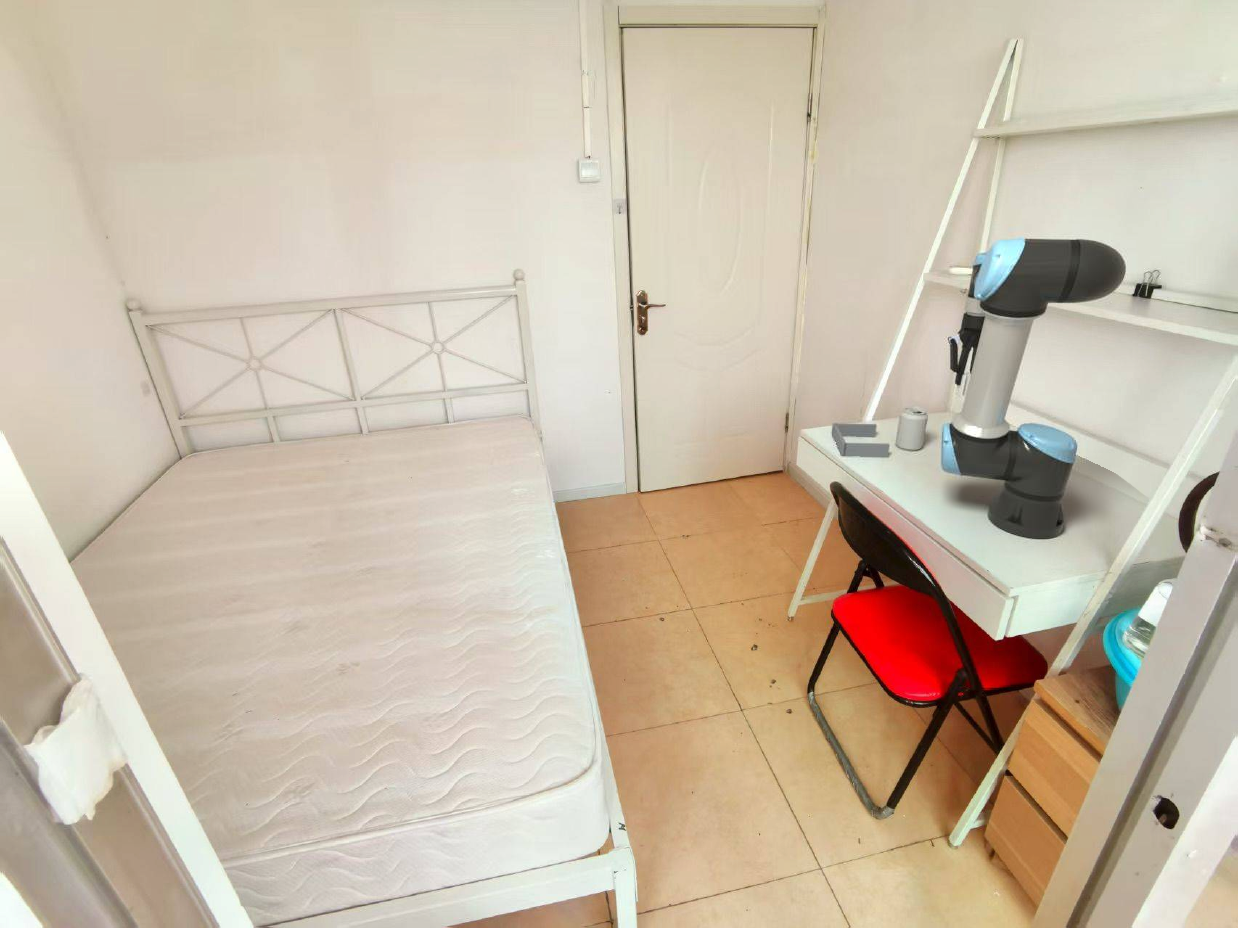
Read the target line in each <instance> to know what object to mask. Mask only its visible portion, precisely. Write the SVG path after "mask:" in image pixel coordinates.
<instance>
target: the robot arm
mask: <svg viewBox="0 0 1238 928" xmlns="http://www.w3.org/2000/svg"><path fill="white" fill-rule="evenodd" d="M1126 270H1127V266H1126V262H1125V260H1124V258H1123V256H1122V255H1121V253H1120V252H1119V251H1118V250H1117V249H1116V248H1114V247H1111V246H1110V245H1108V244H1106V243H1103V242H1101V241H1097V240H1091V239H1084V238H1083V239H1082V238H1076V239H1069V238H1068V239H1057V238H1053V239H1051V238H1024V237H1019V238H1010V239H1008V238H1007V239H999V240H997V241H995V242H994V243H993V244H992V245H991V246H990V247H989V249H988V250H987V252H980V253H977V255H976V256H975V258H974V262H973V265H972V272H971V277H970V282H969V286H968V287H969V288H968V292H967V295H966V300H965V305H964V311H965V312H964V313H963V315H962V319H961V326H960V329H959V331H958V332H957V334H956V335H954V336H948V337H947V341H948V343H949V355H950V358H949V360H950V362H949V364H950V365H949V367H950V368H949V369H950V370H951V371H952V372H953V373H956V375H955V379H954V384H955V385H956V390H955V395H956V396H957V397H958V398H962V397H964V401H963V405H962V409H961V411H960V412H958V413H956V414H955V415H954V416H953V417H952V419H951V423H950V422H948V423H947V422H946V423H944V424H943V425H942V430H941V441H940V442H941V446H940V449H941V451H940V453H941V454H940V462H941V463H940V465H941V470H943V472H945V473H947V474H954V475H958V476H960V477H963V476H964V477H965V476H967V477H972V478H973V477H974V478H981V479H989V480H997V481H1004V483H1003V486H1002V487H1001V489H1000V491H999V492H998V493H997V495H996V496H995V497H994V499H993V501H992V502H990V504H989V507H988V510H987V518H988V520H989V521H990V522H991V523H992V524H993V525H994V526H996V527H997V528H999V529H1001V530H1003V531H1005V532H1006V533H1010V534H1012V535H1016V536H1020V537H1023V538H1029V539H1030V538H1031V539H1040V540H1041V539H1043V540H1044V539H1052V538H1056V537H1057V536H1058V537H1059V535H1060V534H1061V533H1062V531H1063V528H1064V524H1065V515H1064V507H1063V497H1064V493H1065V490H1066V487H1067V484H1068V482H1069V481H1068V480H1069V478H1070V476H1071V471H1072V468H1073V465H1074V463H1076V455H1077V451H1078V443H1077V441H1076V440H1075V438H1074V437H1073V436H1071V435H1070V434H1068V433H1067V432H1065V431H1064V430H1061V429H1058V428H1056V427H1052V426H1049V425H1046V424H1041V423H1034V422H1028V423H1023V424H1020V425H1019V426H1018V428H1017V430H1012V429H1010V423H1009V422H1008V421H1007V420H1006V419H1005V418H1006V414H1007V412H1008V409H1009V406H1010V401H1011V397H1012V396H1013V391H1014V388H1015V385H1016V380H1017V378H1018V374H1019V371H1020V367H1021V364H1022V361H1023V358H1024V355H1025V350H1026V347H1027V344H1028V341H1029V336H1030V335H1031V334H1030V333H1031V330H1032V327H1033V323H1034V321H1035V320H1036V319H1038V318H1040V317H1042V316H1043V315H1045V314H1046V311H1047V307H1048V304H1078V303H1086V302H1092V301H1097V300H1100V299H1103V298H1105V297H1107V296H1109V295H1111V294H1112V293H1114V292H1115V291H1116V290H1117V289H1118V288H1119V287H1120V286H1121V284H1122V283H1123V281H1124V278H1125V276H1126V273H1127V271H1126ZM960 342H961V344H962V345H961V352H960V355H959V346H958V344H959V343H960ZM971 351H972V354H971V360H970V366H969V371H968V372H965V371H966V367H967V363H968V361H969V360H968V359H969V357H970V352H971Z"/></svg>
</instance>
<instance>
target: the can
mask: <svg viewBox="0 0 1238 928" xmlns="http://www.w3.org/2000/svg"><path fill="white" fill-rule="evenodd" d="M928 420H929V415H928V414H927V410H926V409H925V408H923V407H920V406H905V407H904V408H903V411H901V412H900V414H899V421H898V426H897V429H896V430H897V431H896V437H895V442H894V443H895V445H896V446H897V447H898V448H899V450H904V451H909V452H916V451H918V450H920V449H922V448H923V445H924V442H925V441H924V439H925V434H926V429H927V424H928Z"/></svg>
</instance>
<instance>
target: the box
mask: <svg viewBox="0 0 1238 928" xmlns="http://www.w3.org/2000/svg"><path fill="white" fill-rule="evenodd" d="M877 427H878V426H877V424H876V423H832V426H831V434H832V436H831V438H832V437H833V438H832V440H833V439H834V440H833V442H834V441H835V442H836V444H835V446H836V445H837V446H836V448H837V451H838V450H839V451H838V453H839V452H840V453H839V454H840V457H841V456H860V457H859V458H886V457H889V452H890V451H889V450H890V445H891V444H890V443H883V442H882V443H881V442H880V443H878V442H876V443H874V442H872V443H871V442H846V440H845V437H843V436H856V438H876V431H877ZM835 442H834V443H835Z"/></svg>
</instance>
